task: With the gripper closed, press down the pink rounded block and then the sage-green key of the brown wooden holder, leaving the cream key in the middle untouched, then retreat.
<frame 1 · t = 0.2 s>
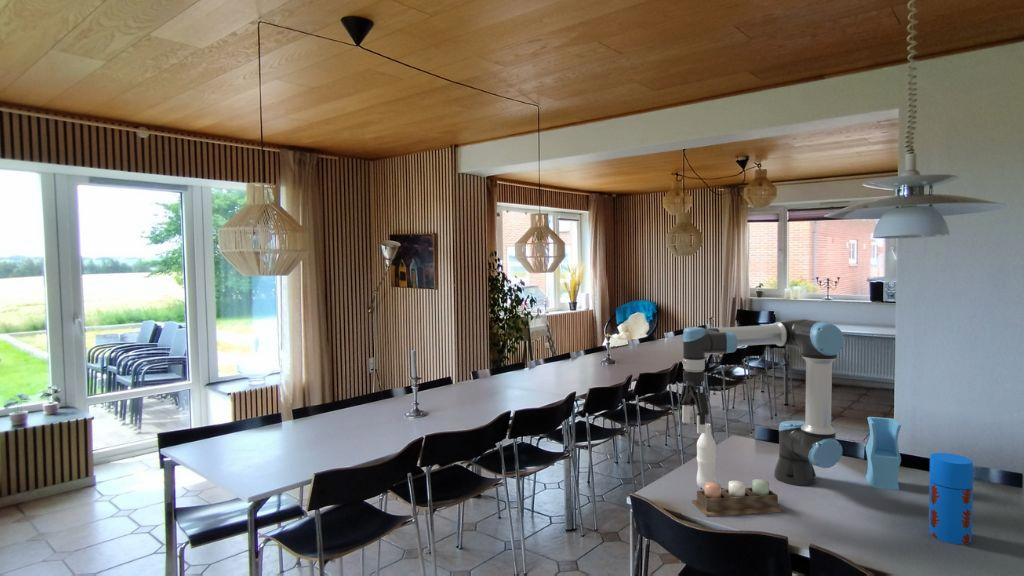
hand: (693, 427, 210), 27 cm above the table, fingers open, 13 cm apart
vase: (882, 484, 224), on the table
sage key: (760, 488, 206), point 6 cm above the table, slide at 0.0 cm
brown wooden holder: (736, 506, 205), on the table
water bottle: (706, 488, 223), on the table
cream key: (736, 490, 205), point 6 cm above the table, slide at 0.0 cm
pink rounded block: (712, 491, 204), point 6 cm above the table, slide at 0.0 cm
thermos: (949, 537, 181), on the table
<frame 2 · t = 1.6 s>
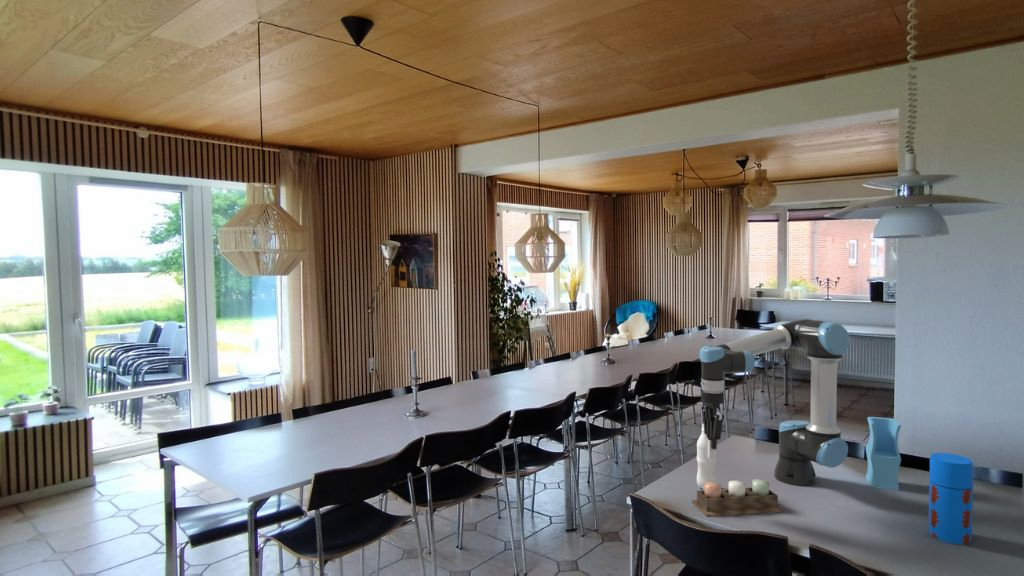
hand: (712, 457, 203), 19 cm above the table, fingers closed
nothing on the table moved.
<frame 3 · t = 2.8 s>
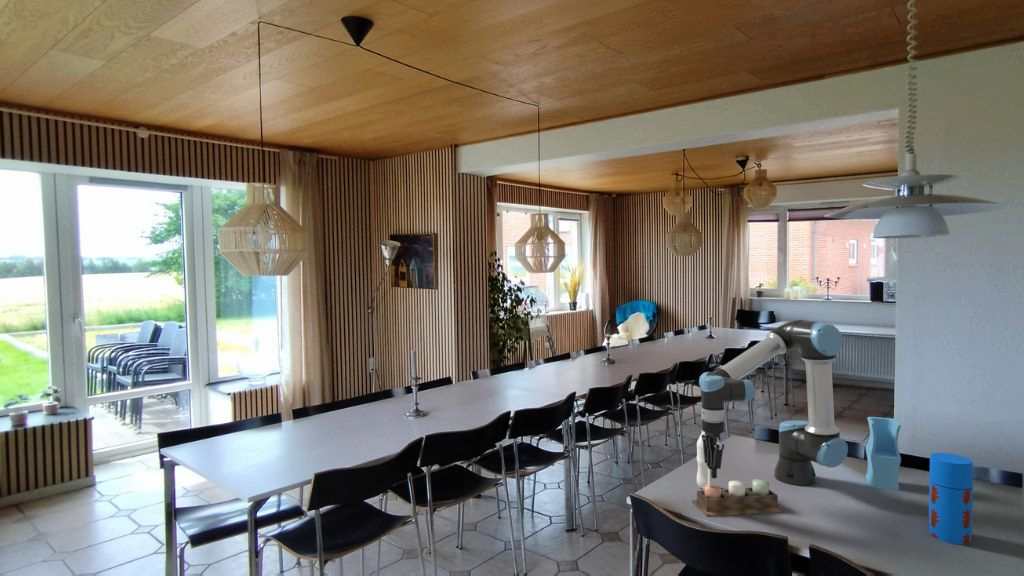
hand: (712, 485, 204), 8 cm above the table, fingers closed
pink rounded block: (712, 493, 204), point 5 cm above the table, slide at 0.6 cm, touching gripper
everything else where it was.
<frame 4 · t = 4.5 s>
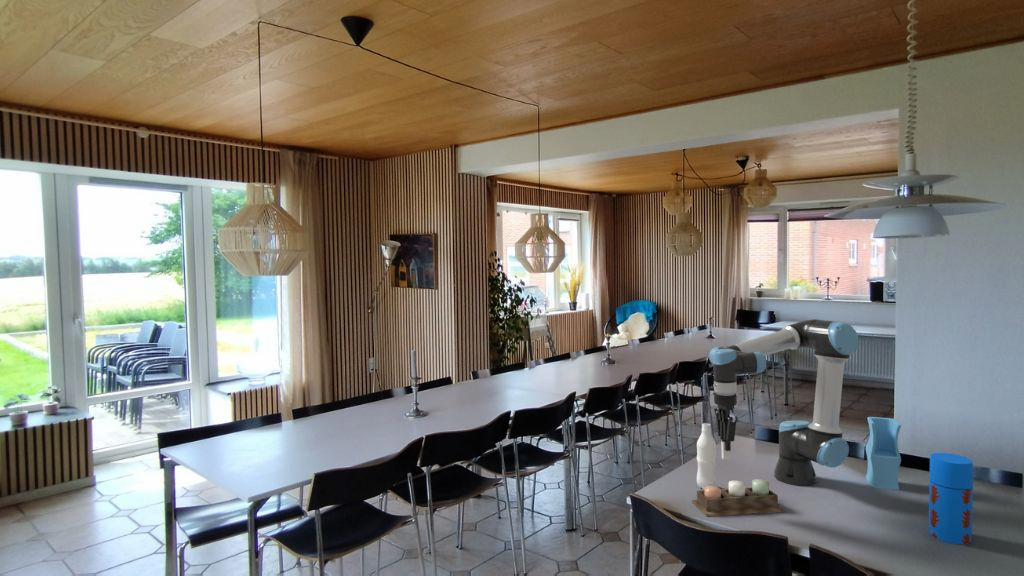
hand: (726, 458, 204), 18 cm above the table, fingers closed
pink rounded block: (712, 495, 204), point 5 cm above the table, slide at 1.5 cm
everything else where it was.
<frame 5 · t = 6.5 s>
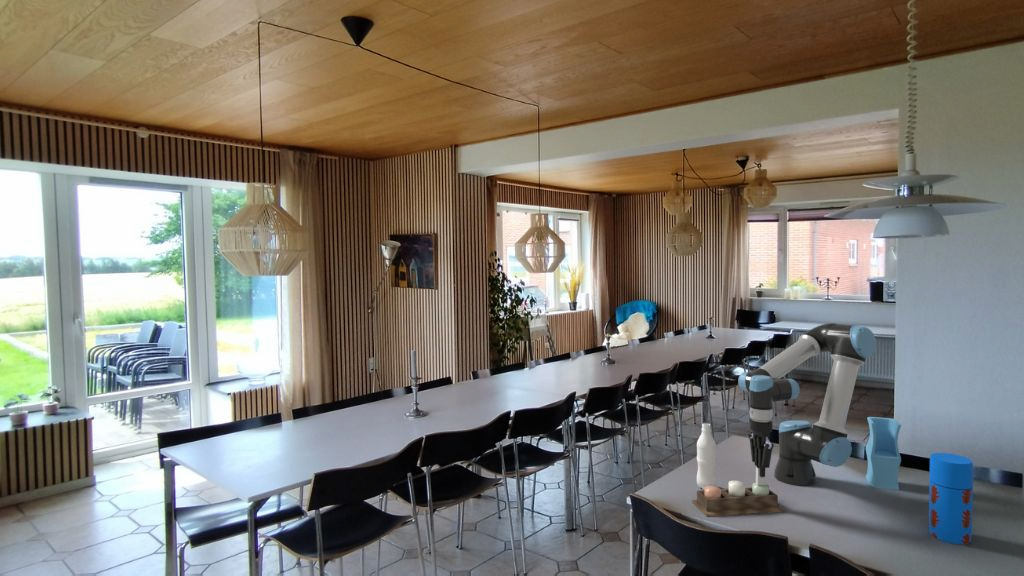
hand: (760, 484, 206), 8 cm above the table, fingers closed
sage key: (760, 492, 206), point 5 cm above the table, slide at 1.2 cm, touching gripper
everything else where it was.
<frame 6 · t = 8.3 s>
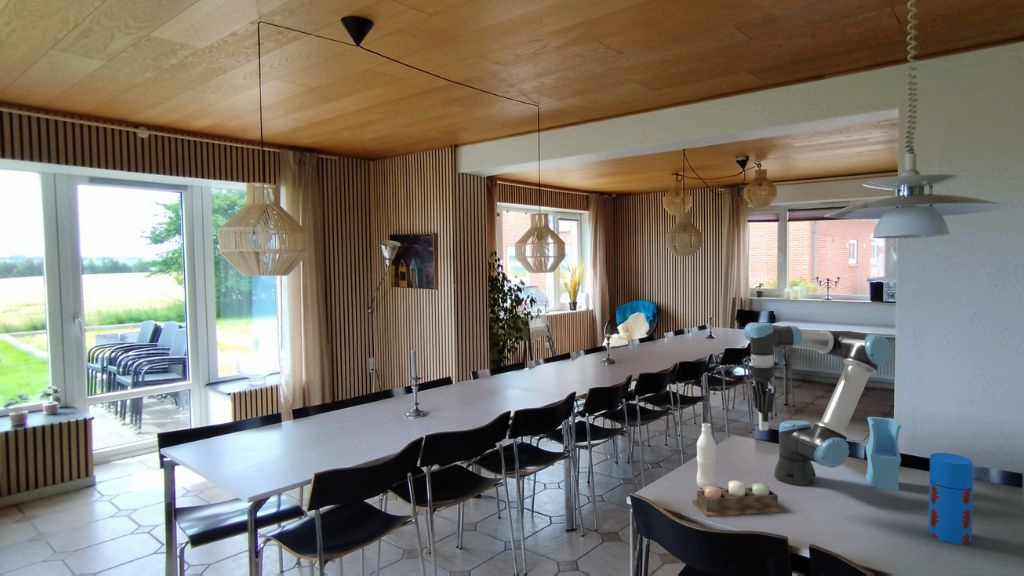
hand: (763, 429, 209), 26 cm above the table, fingers closed
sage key: (760, 492, 206), point 5 cm above the table, slide at 1.5 cm
everything else where it was.
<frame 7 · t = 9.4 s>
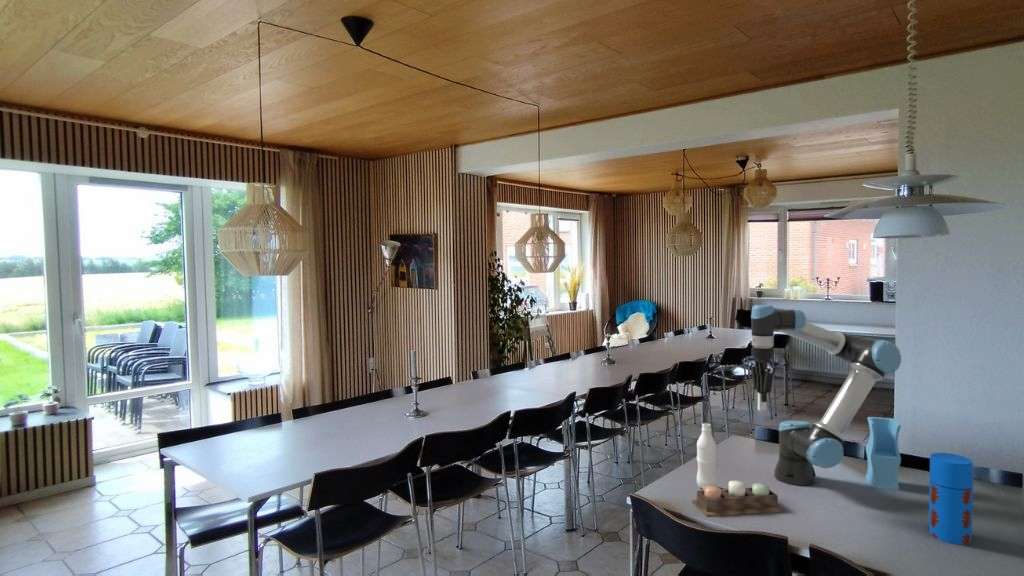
hand: (762, 409, 213), 32 cm above the table, fingers closed
nothing on the table moved.
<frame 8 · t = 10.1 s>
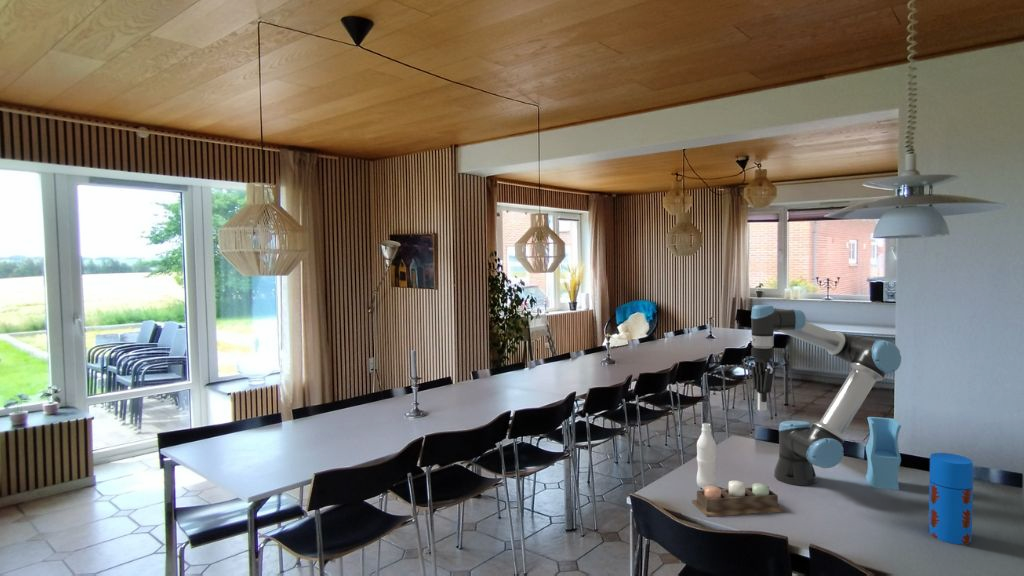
hand: (762, 409, 213), 32 cm above the table, fingers closed
nothing on the table moved.
at the end: pink rounded block slide at 1.5 cm; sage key slide at 1.5 cm; cream key slide at 0.0 cm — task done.
